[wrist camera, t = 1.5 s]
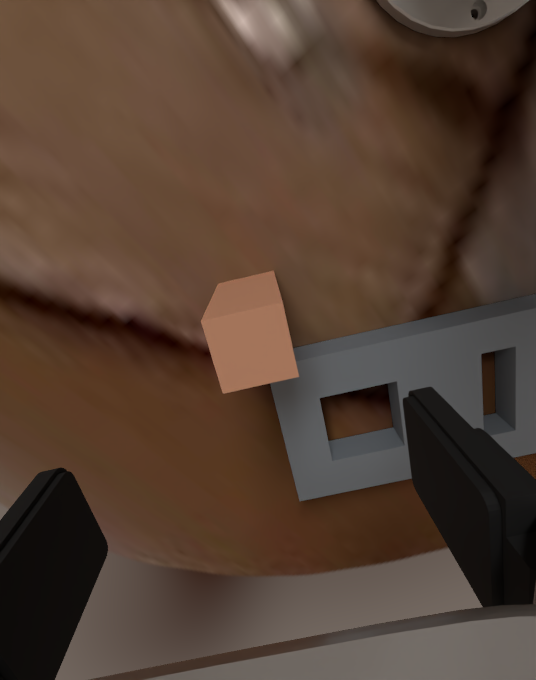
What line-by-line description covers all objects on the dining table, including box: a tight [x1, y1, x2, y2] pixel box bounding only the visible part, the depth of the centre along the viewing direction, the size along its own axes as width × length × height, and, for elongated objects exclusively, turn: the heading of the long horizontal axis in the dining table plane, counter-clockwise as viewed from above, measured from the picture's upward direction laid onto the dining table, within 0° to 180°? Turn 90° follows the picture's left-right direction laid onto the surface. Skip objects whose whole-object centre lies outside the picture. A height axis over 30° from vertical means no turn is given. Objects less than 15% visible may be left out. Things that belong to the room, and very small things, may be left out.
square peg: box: [201, 271, 299, 394], centre depth 23 cm, size 4×4×9 cm
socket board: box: [270, 294, 536, 501], centre depth 29 cm, size 12×22×2 cm, turn 103°
